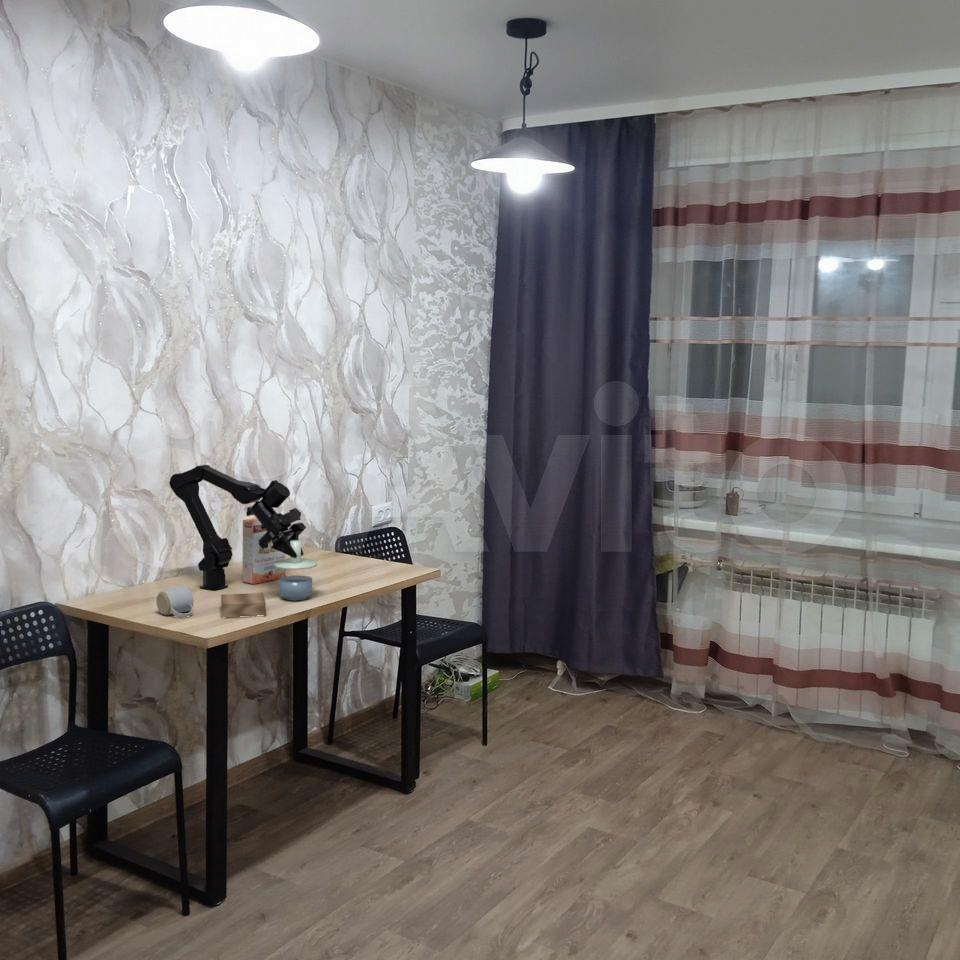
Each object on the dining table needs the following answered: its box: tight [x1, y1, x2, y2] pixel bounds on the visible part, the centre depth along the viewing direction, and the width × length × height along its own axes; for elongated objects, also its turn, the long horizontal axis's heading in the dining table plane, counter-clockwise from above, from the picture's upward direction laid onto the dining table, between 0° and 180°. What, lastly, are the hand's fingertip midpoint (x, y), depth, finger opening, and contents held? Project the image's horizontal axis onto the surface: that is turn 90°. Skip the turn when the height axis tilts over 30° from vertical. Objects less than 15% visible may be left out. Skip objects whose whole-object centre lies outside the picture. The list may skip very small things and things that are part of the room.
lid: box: [274, 539, 318, 571], centre depth 299 cm, size 13×13×8 cm
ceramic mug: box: [155, 584, 194, 618], centre depth 279 cm, size 11×8×8 cm
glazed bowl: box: [278, 574, 313, 601], centre depth 301 cm, size 10×10×6 cm
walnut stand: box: [220, 592, 267, 618], centre depth 283 cm, size 12×12×4 cm
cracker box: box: [242, 517, 287, 585], centre depth 322 cm, size 14×6×21 cm, turn 143°
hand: (299, 556), depth 299 cm, fingers closed on lid, 3 cm apart
